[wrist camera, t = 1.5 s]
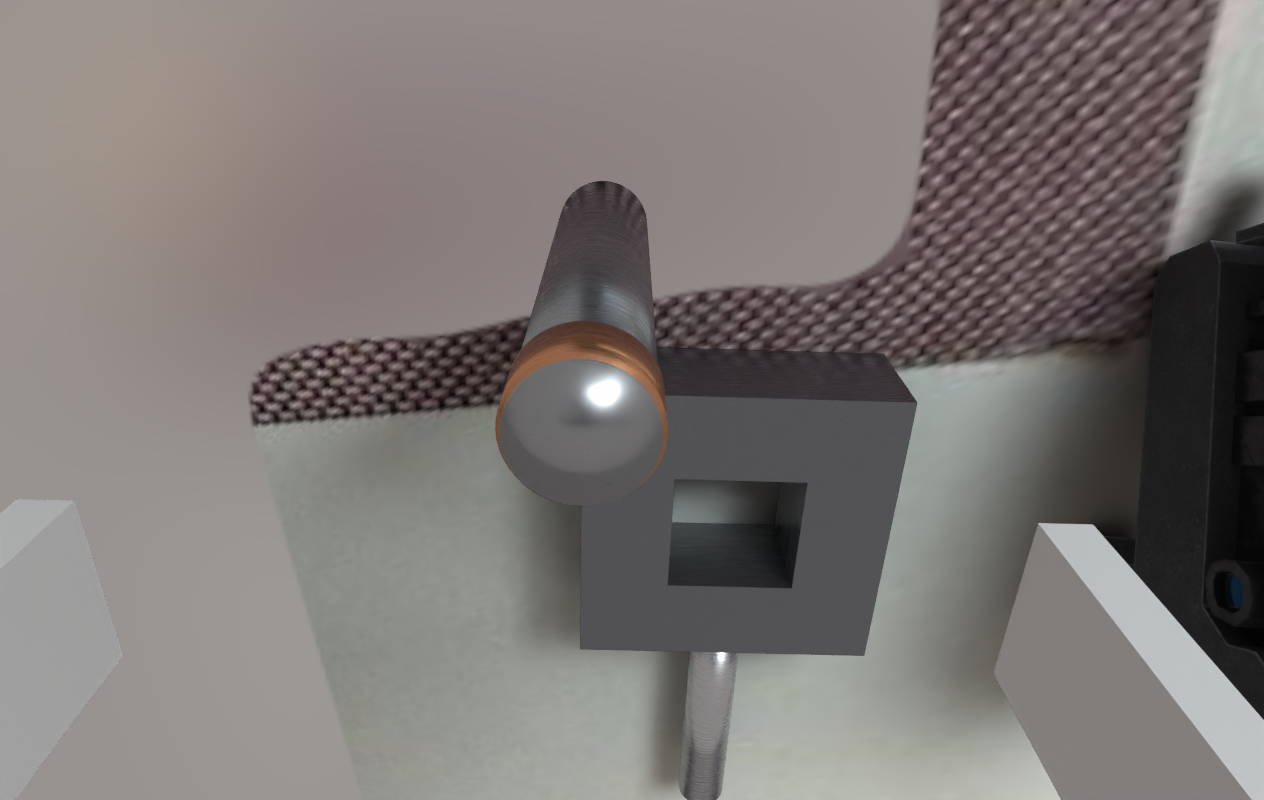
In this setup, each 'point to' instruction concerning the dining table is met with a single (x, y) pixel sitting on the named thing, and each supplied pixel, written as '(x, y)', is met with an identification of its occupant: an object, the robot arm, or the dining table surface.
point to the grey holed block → (751, 526)
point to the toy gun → (1207, 455)
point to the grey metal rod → (588, 360)
